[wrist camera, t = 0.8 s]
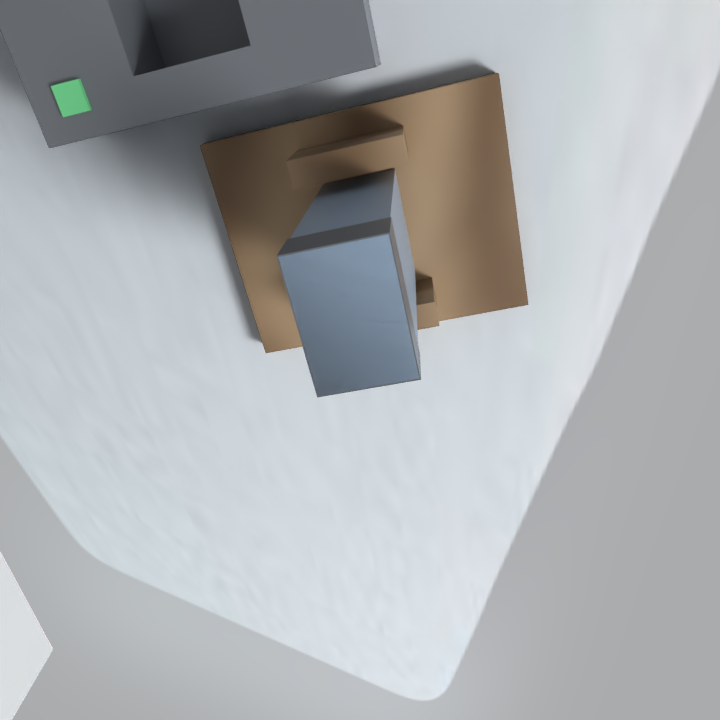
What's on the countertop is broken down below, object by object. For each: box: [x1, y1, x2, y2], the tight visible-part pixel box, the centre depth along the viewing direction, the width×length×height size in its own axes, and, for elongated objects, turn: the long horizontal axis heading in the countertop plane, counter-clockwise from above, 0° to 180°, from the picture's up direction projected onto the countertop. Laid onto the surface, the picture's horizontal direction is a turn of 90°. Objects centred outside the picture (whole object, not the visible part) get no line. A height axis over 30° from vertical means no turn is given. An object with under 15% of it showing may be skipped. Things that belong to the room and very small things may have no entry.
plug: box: [277, 169, 421, 397], centre depth 26 cm, size 4×5×12 cm
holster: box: [200, 73, 528, 353], centre depth 31 cm, size 14×11×4 cm
